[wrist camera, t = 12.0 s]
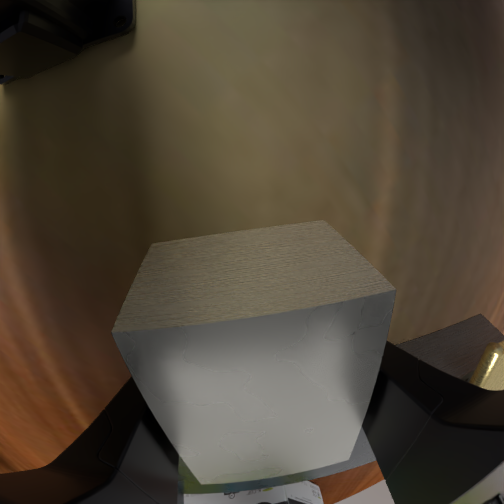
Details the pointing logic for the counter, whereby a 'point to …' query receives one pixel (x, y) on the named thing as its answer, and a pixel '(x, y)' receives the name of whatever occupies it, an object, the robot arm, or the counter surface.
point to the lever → (490, 368)
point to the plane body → (425, 348)
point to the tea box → (263, 495)
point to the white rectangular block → (257, 347)
